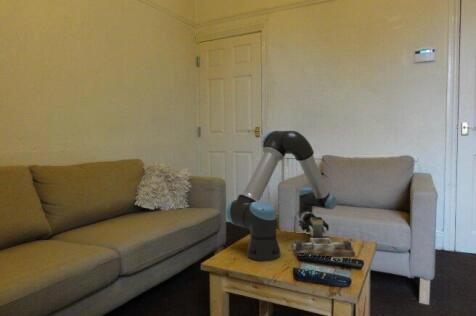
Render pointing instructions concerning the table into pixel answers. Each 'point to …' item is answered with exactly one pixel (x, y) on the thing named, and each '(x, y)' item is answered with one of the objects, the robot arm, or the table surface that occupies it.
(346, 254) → the shaft board
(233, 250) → the table surface
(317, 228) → the coupler
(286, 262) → the table surface
